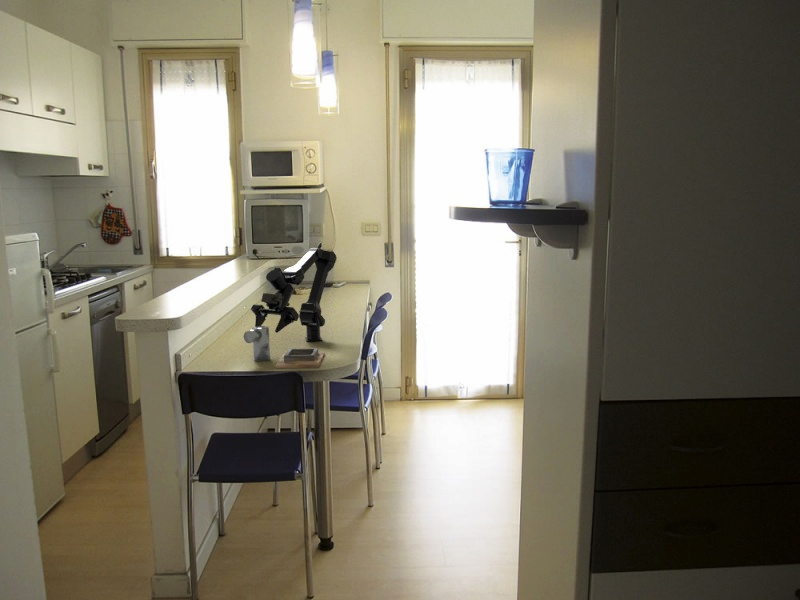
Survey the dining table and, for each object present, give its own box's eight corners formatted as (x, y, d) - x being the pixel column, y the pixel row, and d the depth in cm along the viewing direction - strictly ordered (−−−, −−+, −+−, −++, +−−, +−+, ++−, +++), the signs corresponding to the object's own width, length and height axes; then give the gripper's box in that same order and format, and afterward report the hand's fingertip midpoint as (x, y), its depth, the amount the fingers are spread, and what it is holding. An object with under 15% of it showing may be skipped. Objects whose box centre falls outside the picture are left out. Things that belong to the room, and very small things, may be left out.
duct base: (284, 354, 242) (284, 347, 242) (324, 354, 242) (324, 346, 242) (275, 368, 225) (275, 359, 224) (318, 367, 224) (317, 359, 224)
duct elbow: (260, 356, 240) (258, 325, 238) (273, 358, 238) (272, 326, 235) (243, 363, 231) (241, 330, 229) (256, 365, 229) (254, 331, 227)
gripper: (252, 283, 243) (234, 317, 235) (293, 285, 235) (276, 320, 227) (266, 300, 251) (249, 333, 243) (306, 303, 243) (290, 337, 235)
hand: (265, 331), depth 237 cm, fingers open, 9 cm apart
